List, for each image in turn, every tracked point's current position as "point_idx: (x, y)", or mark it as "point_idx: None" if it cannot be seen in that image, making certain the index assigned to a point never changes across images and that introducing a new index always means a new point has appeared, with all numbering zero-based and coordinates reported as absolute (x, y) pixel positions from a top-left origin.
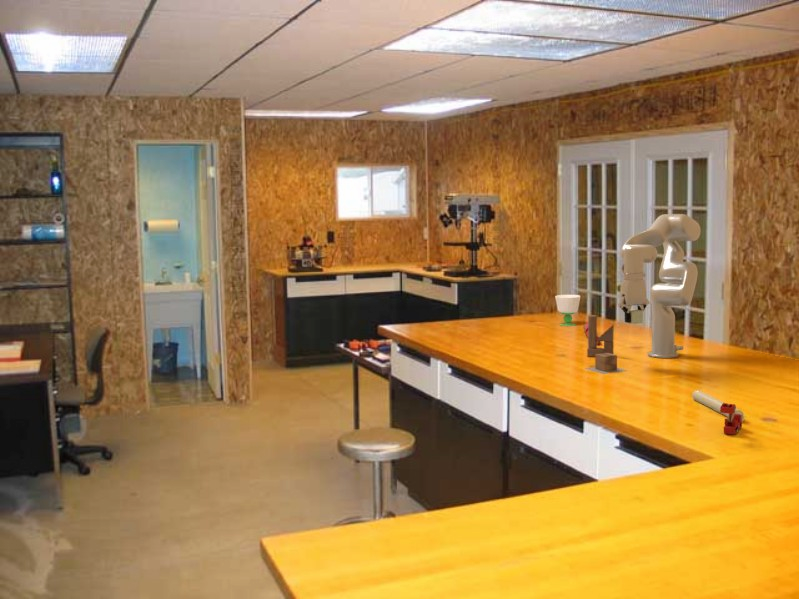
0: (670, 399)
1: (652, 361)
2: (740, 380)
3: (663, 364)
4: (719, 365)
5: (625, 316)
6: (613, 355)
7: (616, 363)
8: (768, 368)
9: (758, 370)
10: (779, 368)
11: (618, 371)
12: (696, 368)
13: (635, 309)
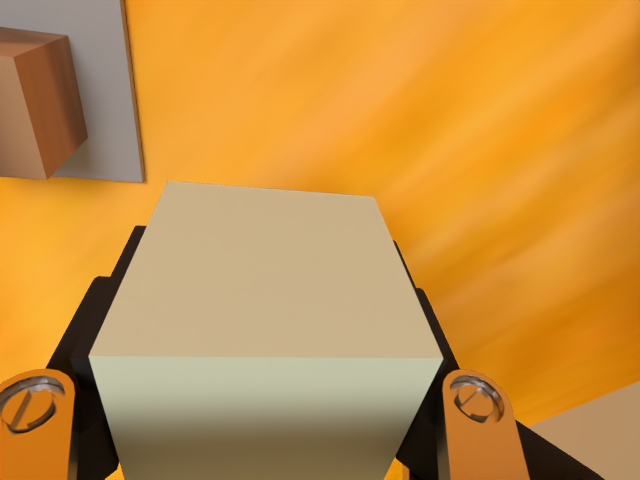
0: None
1: (508, 15)
2: None
3: (464, 125)
4: (586, 267)
5: (78, 337)
6: (12, 173)
7: (67, 153)
8: (612, 357)
9: (564, 362)
10: (627, 367)
11: (76, 171)
12: (474, 263)
13: (412, 390)
